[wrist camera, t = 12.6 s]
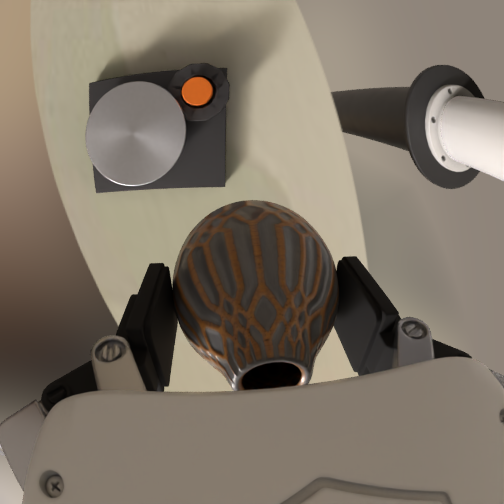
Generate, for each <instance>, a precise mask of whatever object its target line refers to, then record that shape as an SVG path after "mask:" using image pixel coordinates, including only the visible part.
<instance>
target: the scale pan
mask: <svg viewBox="0 0 504 504" xmlns="http://www.w3.org/2000/svg"><path fill="white" fill-rule="evenodd" d="M186 132H187V127H186V119H185V115H184V112H183V109H182V107H181V106H180V104H179V102H178V101H177V99H176V98H175V97H174V96H173V95H172V94H171V93H170V92H169V91H167V90H166V89H165V88H163V87H161V86H159V85H156V84H153V83H150V82H144V81H135V82H128V83H124V84H122V85H119V86H117V87H115V88H113V89H112V90H110V91H109V92H107V93H106V94H105V95H104V96H103V97H102V98H101V99H100V100H99V101H98V102H97V104H96V105H95V107H94V108H93V110H92V112H91V114H90V116H89V119H88V122H87V127H86V147H87V151H88V154H89V157H90V159H91V161H92V163H93V165H94V166H95V167H96V169H97V170H98V171H99V172H100V173H101V174H102V175H103V176H105V177H106V178H108V179H109V180H111V181H113V182H115V183H118V184H121V185H127V186H139V185H144V184H148V183H151V182H153V181H155V180H157V179H159V178H161V177H162V176H163V175H165V174H166V173H167V172H168V171H169V170H170V169H171V168H172V167H173V166H174V164H175V163H176V162H177V160H178V159H179V157H180V155H181V153H182V151H183V148H184V145H185V140H186Z"/></svg>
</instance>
